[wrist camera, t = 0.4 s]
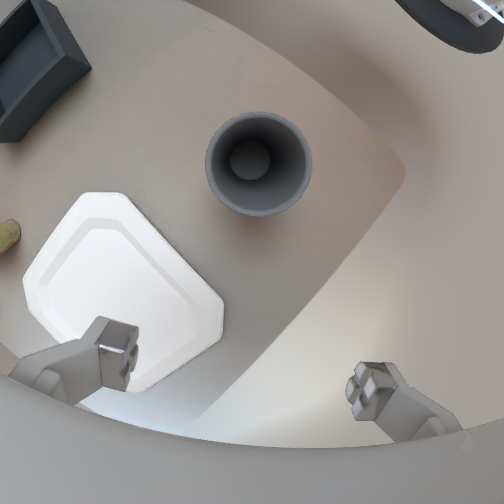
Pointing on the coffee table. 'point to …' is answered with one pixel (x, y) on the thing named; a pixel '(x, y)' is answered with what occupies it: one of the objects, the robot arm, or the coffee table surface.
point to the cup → (258, 164)
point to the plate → (123, 286)
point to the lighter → (8, 234)
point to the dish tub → (34, 65)
